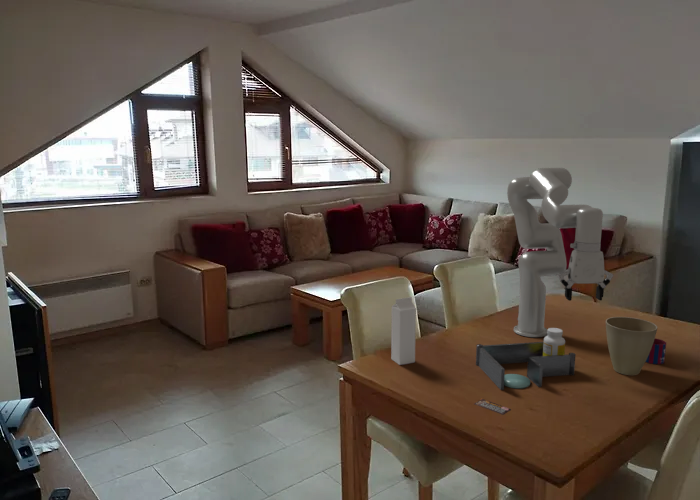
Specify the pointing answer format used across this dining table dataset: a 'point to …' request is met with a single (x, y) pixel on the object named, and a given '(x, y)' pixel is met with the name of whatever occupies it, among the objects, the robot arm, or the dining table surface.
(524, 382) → the pad
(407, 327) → the milk
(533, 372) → the gray wall barrier
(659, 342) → the mug
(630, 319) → the plant pot
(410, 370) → the dining table surface
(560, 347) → the supplement bottle
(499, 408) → the chocolate bar
